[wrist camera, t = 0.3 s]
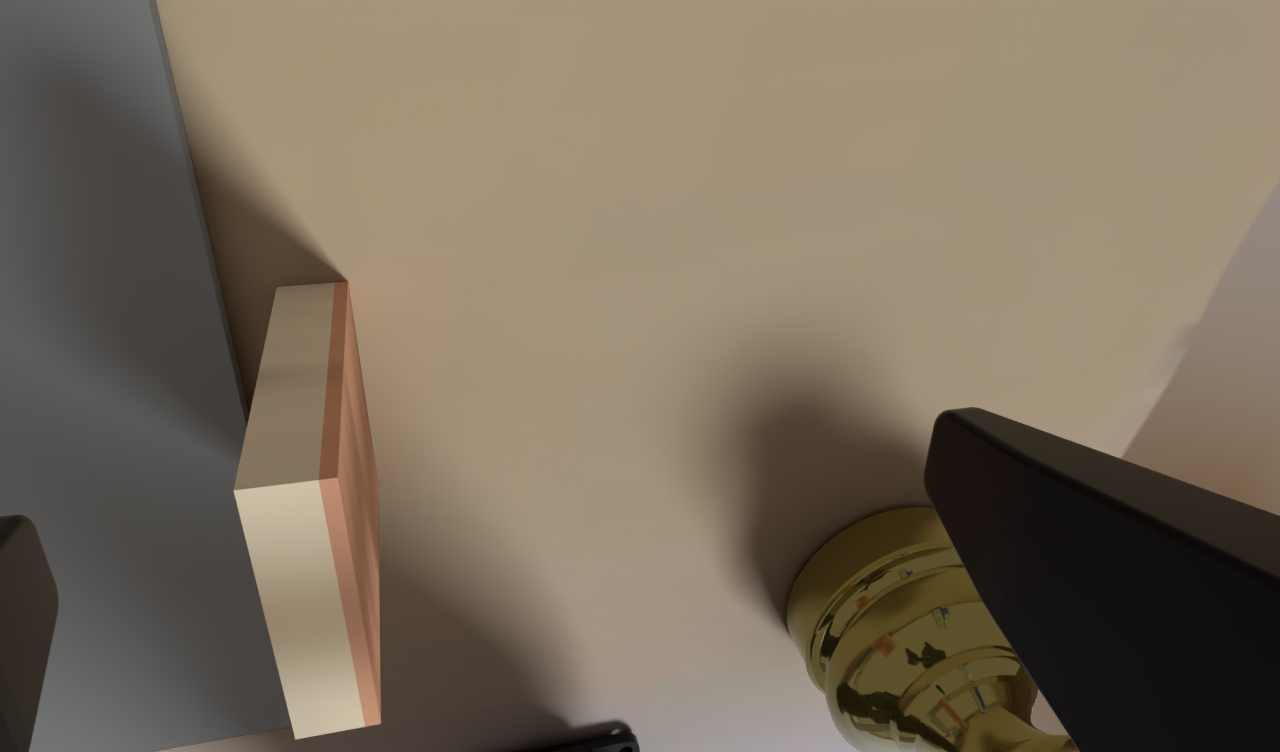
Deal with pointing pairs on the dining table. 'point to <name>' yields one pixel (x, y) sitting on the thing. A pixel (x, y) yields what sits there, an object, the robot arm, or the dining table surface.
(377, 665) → the tile
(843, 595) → the olive tall rounded piece
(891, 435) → the dining table surface
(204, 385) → the mat
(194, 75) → the dining table surface
